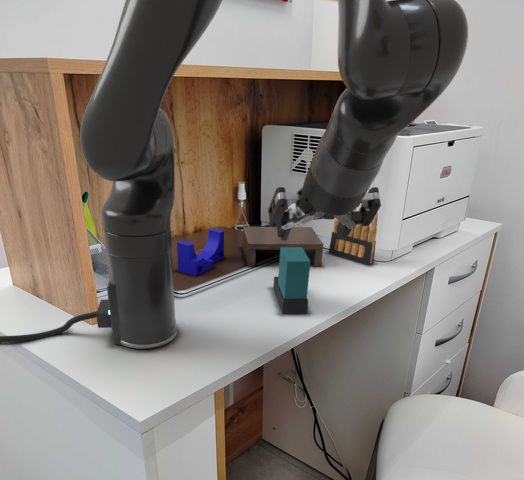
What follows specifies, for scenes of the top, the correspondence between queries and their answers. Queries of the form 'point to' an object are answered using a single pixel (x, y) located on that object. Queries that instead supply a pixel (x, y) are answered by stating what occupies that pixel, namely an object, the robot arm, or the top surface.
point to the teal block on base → (292, 280)
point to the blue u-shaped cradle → (201, 254)
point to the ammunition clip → (356, 243)
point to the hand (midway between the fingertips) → (311, 234)
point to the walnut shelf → (281, 242)
